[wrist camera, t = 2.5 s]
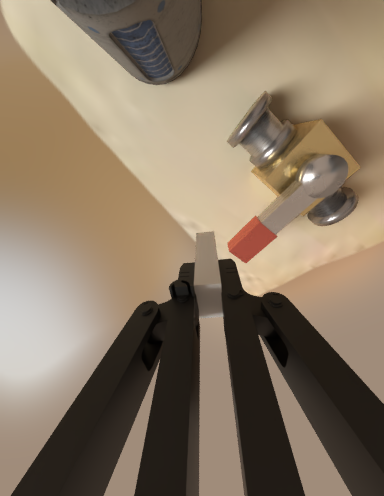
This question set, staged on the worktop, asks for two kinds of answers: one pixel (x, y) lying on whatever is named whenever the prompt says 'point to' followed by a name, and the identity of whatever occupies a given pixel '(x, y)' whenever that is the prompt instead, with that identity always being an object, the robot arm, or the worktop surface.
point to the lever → (290, 203)
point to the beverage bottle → (141, 33)
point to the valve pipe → (293, 156)
